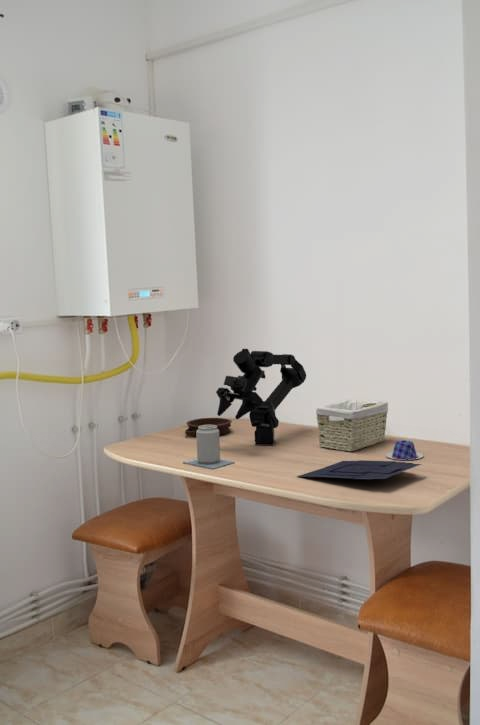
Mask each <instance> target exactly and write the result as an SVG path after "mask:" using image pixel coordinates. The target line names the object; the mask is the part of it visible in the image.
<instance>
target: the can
mask: <svg viewBox="0 0 480 725" xmlns="http://www.w3.org/2000/svg"><path fill="white" fill-rule="evenodd" d="M198 428H199V429H198V430H197V431H196V436H195V437H196V458H197V460H198V461H199V462H200V463H202V464H213V463H217V462H218V461H219V460H220V459H221V449H220V448H221V446H220V445H221V442H220V435H219V430H218V429H217V426H216V425H201V426H198Z"/></svg>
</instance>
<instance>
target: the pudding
mask: <svg viewBox="0 0 480 725" xmlns="http://www.w3.org/2000/svg"><path fill="white" fill-rule="evenodd" d="M385 456H386V457H387V458H389V459H392V460H398V461H413V460H419V459H421V458H423V457H424V454H422V453H421V452H417V451H416V448H415V443H414V442H413V441H411V440H408V439H407V440H402V439H401V440H397V441H395V442H394V446H393V451H390V452H388V453H386V454H385ZM417 456H418V458H417ZM415 458H416V459H415ZM407 459H408V460H407Z"/></svg>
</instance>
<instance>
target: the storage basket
mask: <svg viewBox="0 0 480 725" xmlns="http://www.w3.org/2000/svg"><path fill="white" fill-rule="evenodd" d="M315 411H316V420H317V430H318V442H319V444H318V445H319V447H321V448H325V449H331V450H337V451H343V452H345V451H346V452H354V451H358V450H360V449H364V448H365V447H371V446H373V445H376V444H379V443H381V442H384V441H385V438H386V431H387V430H386V429H387V418H388V411H389V403H388V402H387V401H386V400H385V401H384V400H382V401H381V400H372V399H361V398H360V399H359V398H352V399H345V400H339V401H336V402H333V403H332V402H331V403H327V404H323V405H320V406H317V408H316V410H315Z"/></svg>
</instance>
